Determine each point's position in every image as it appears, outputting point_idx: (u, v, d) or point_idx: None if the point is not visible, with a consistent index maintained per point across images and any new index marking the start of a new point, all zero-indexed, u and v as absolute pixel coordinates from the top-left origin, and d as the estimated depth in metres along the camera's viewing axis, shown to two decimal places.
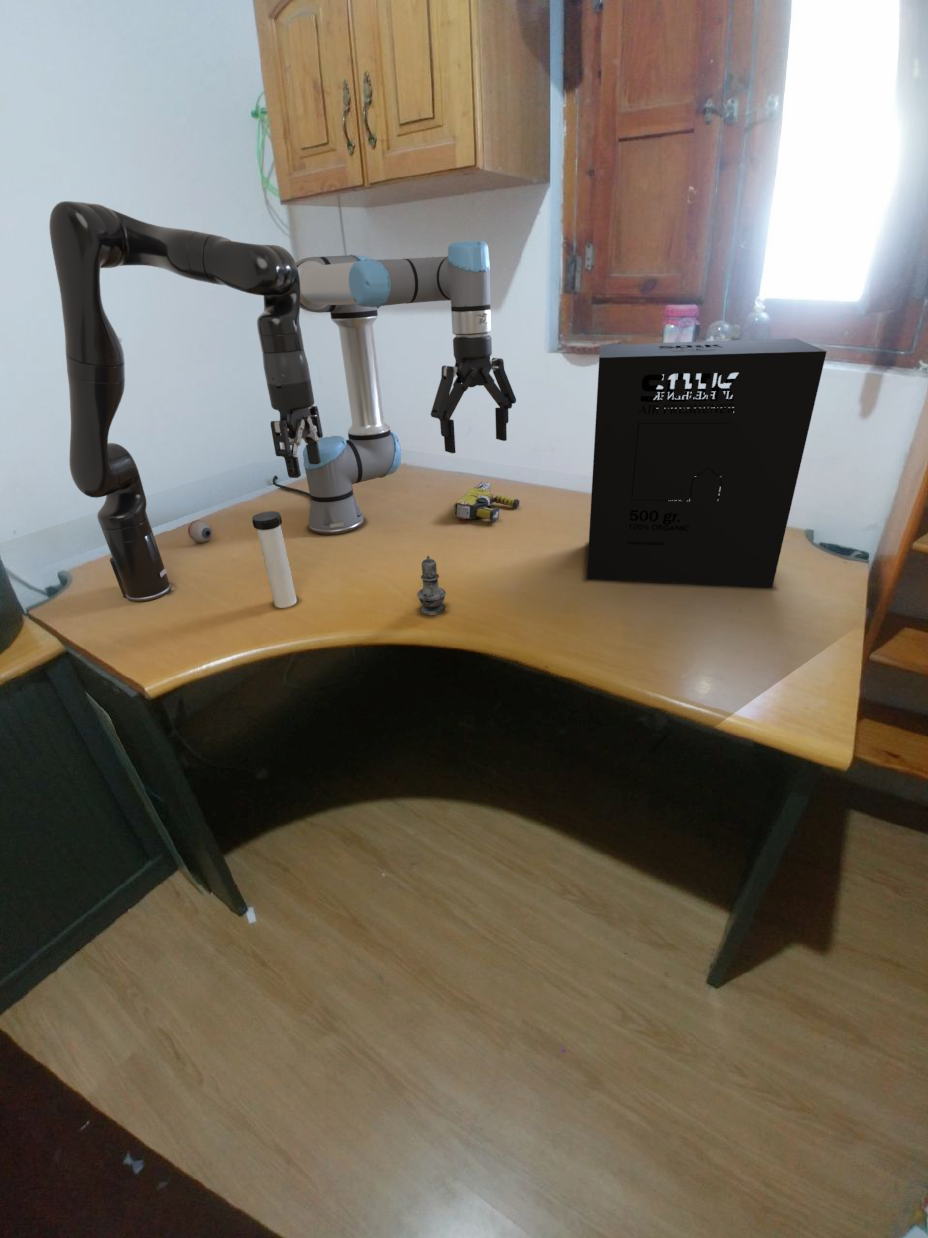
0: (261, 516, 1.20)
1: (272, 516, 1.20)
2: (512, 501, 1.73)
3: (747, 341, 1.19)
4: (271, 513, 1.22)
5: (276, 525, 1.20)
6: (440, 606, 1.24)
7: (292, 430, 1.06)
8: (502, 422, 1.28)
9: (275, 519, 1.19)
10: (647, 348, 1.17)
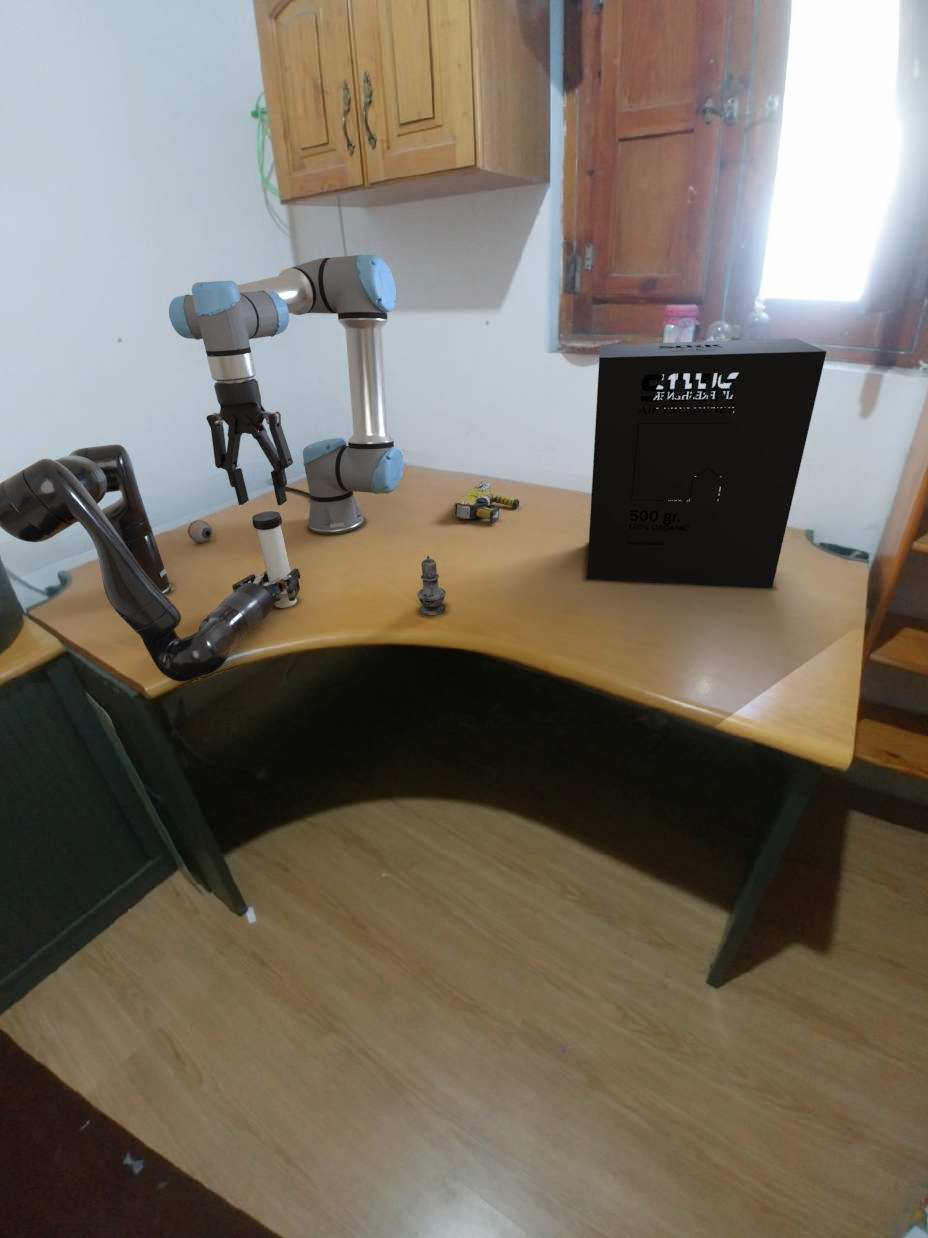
0: (261, 516, 1.20)
1: (272, 516, 1.20)
2: (512, 501, 1.73)
3: (747, 341, 1.19)
4: (271, 513, 1.22)
5: (276, 525, 1.20)
6: (440, 606, 1.24)
7: None
8: (243, 482, 1.19)
9: (275, 519, 1.19)
10: (647, 348, 1.17)
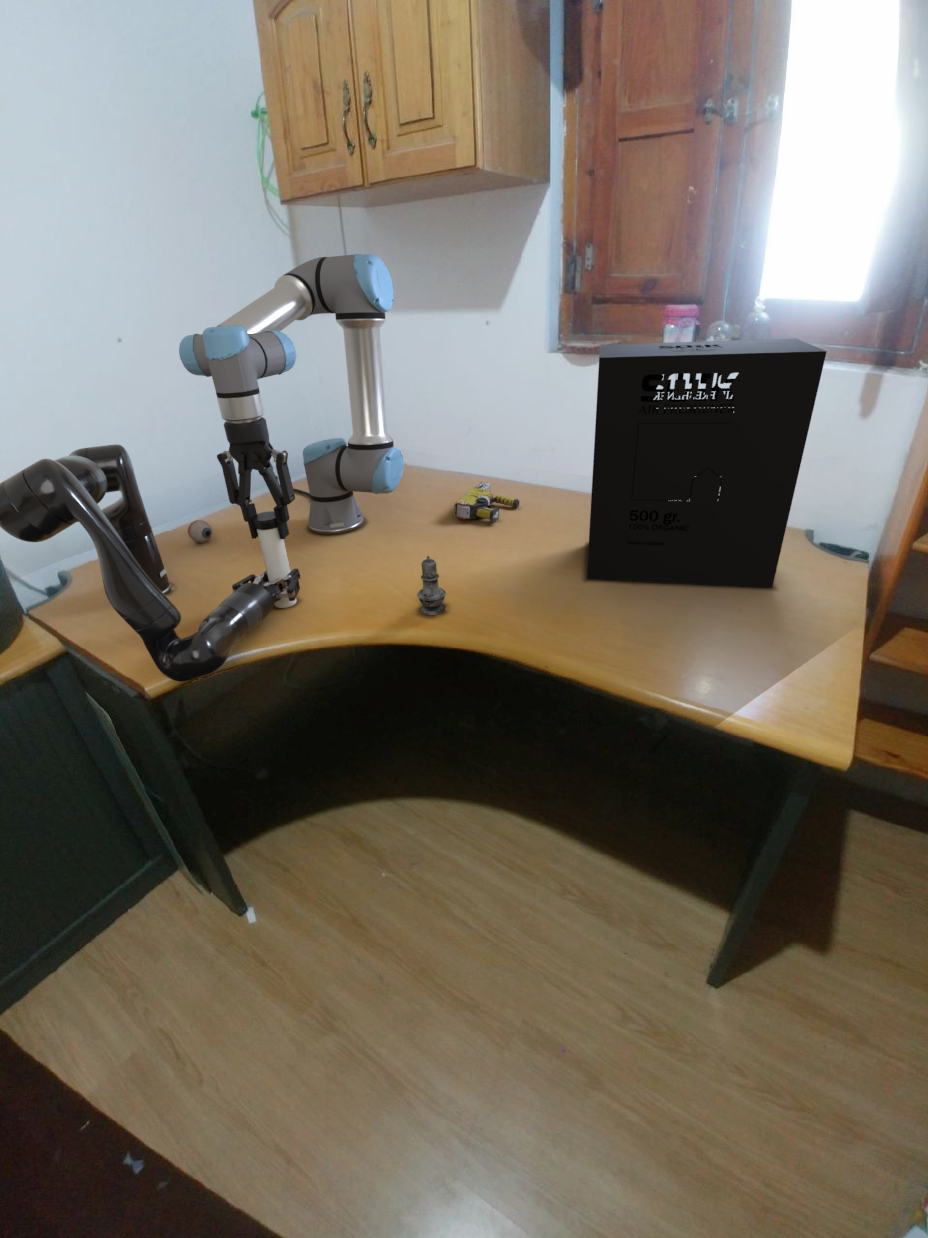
0: (261, 516, 1.20)
1: (272, 516, 1.20)
2: (512, 501, 1.73)
3: (747, 341, 1.19)
4: (271, 513, 1.22)
5: (276, 526, 1.20)
6: (440, 606, 1.24)
7: None
8: None
9: (275, 519, 1.19)
10: (647, 348, 1.17)
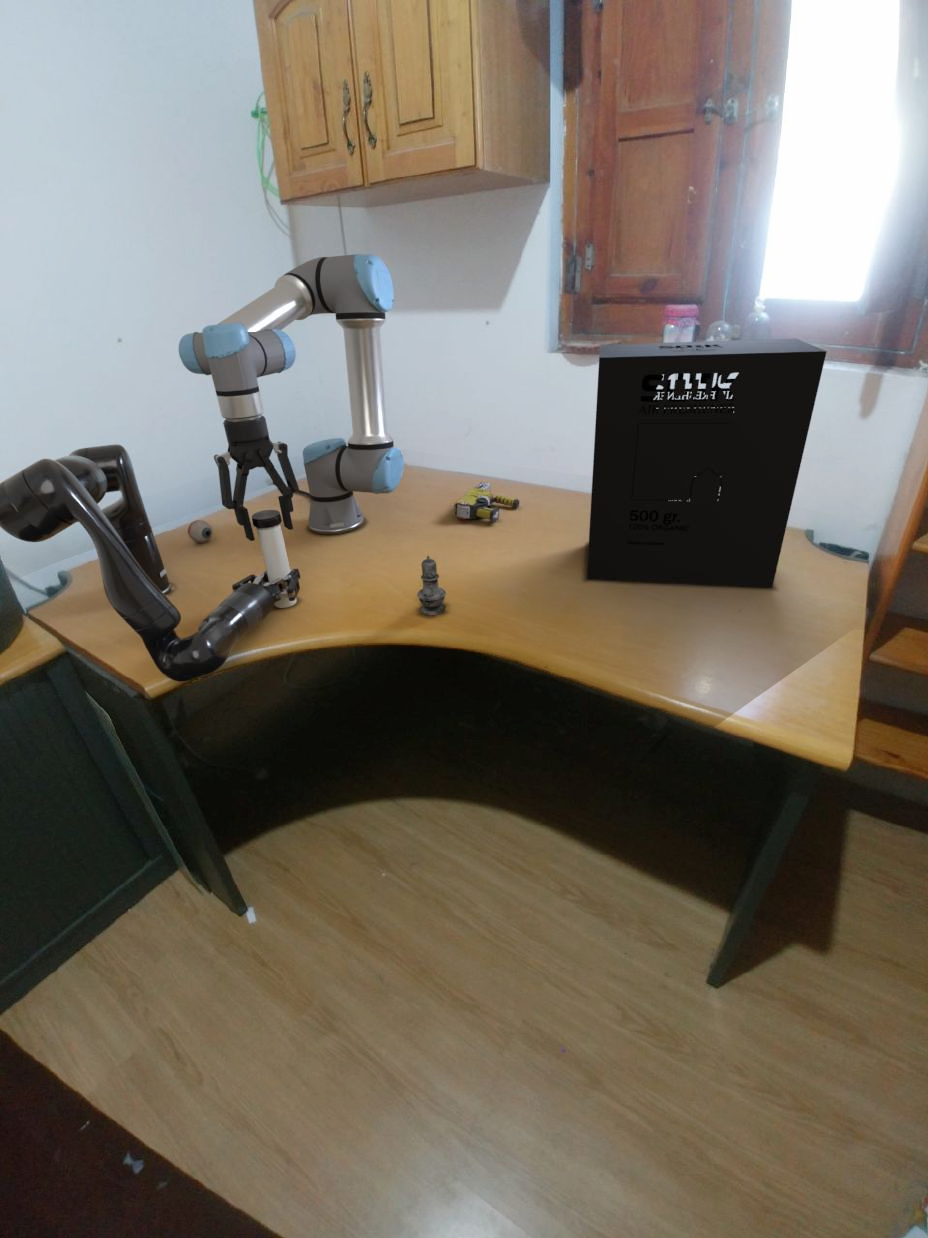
0: (265, 515, 1.20)
1: (270, 511, 1.22)
2: (512, 501, 1.73)
3: (747, 341, 1.19)
4: (260, 513, 1.21)
5: None
6: (440, 606, 1.24)
7: None
8: None
9: None
10: (647, 348, 1.17)
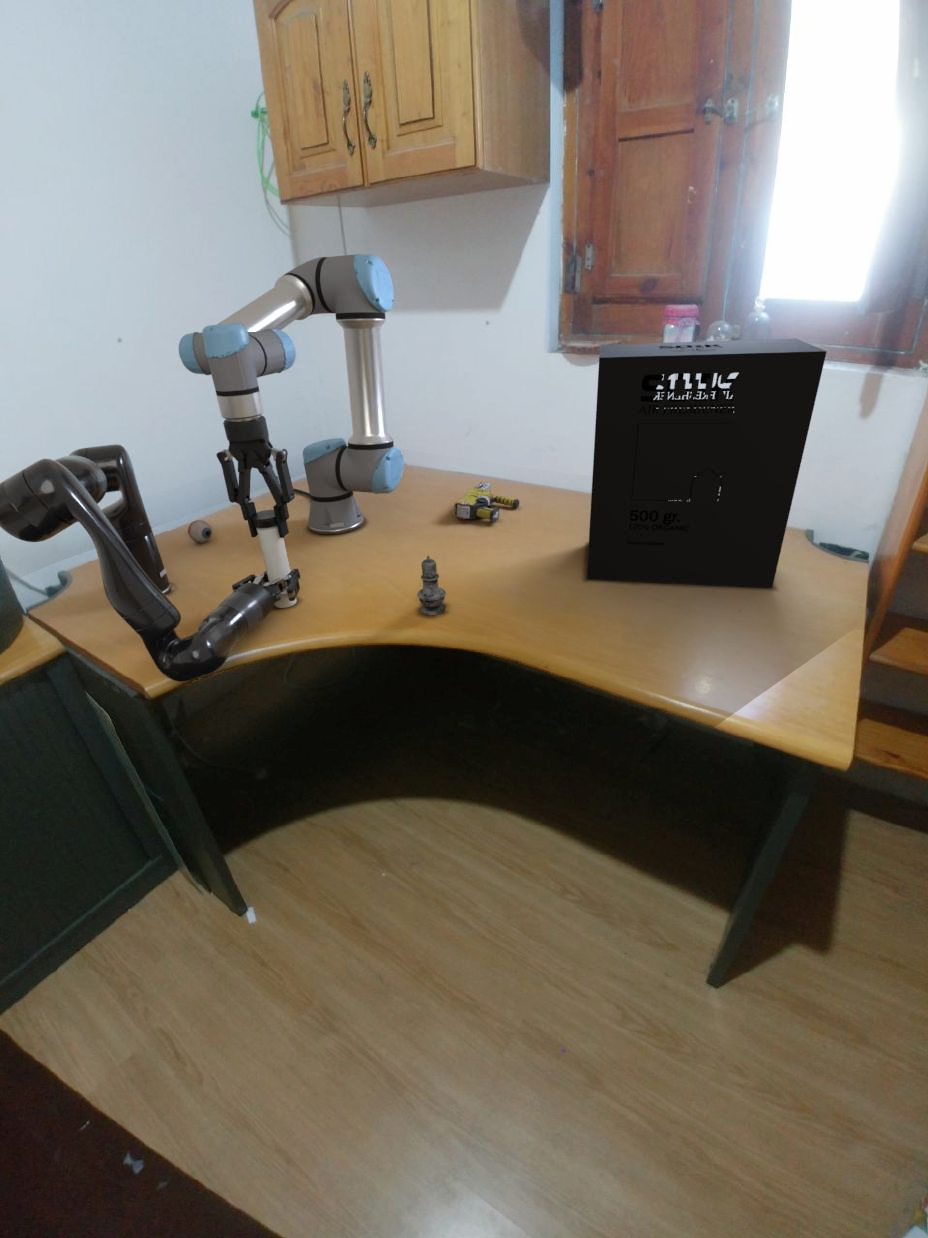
0: (265, 515, 1.20)
1: (270, 511, 1.21)
2: (512, 501, 1.73)
3: (747, 341, 1.19)
4: (260, 513, 1.21)
5: None
6: (440, 606, 1.24)
7: None
8: None
9: None
10: (647, 348, 1.17)
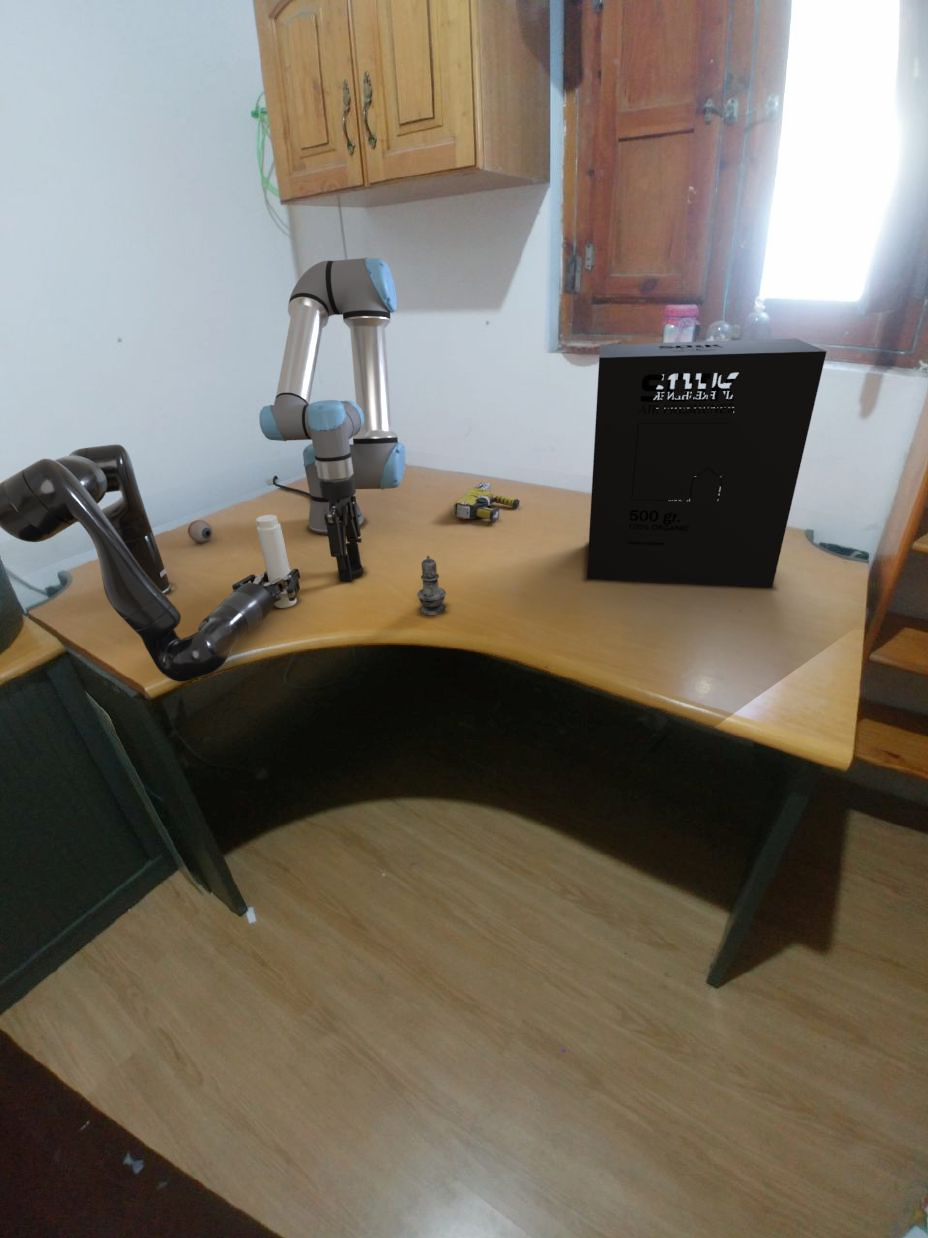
0: (354, 566, 1.40)
1: None
2: (512, 501, 1.73)
3: (747, 341, 1.19)
4: None
5: None
6: (440, 606, 1.24)
7: None
8: None
9: None
10: (647, 348, 1.17)
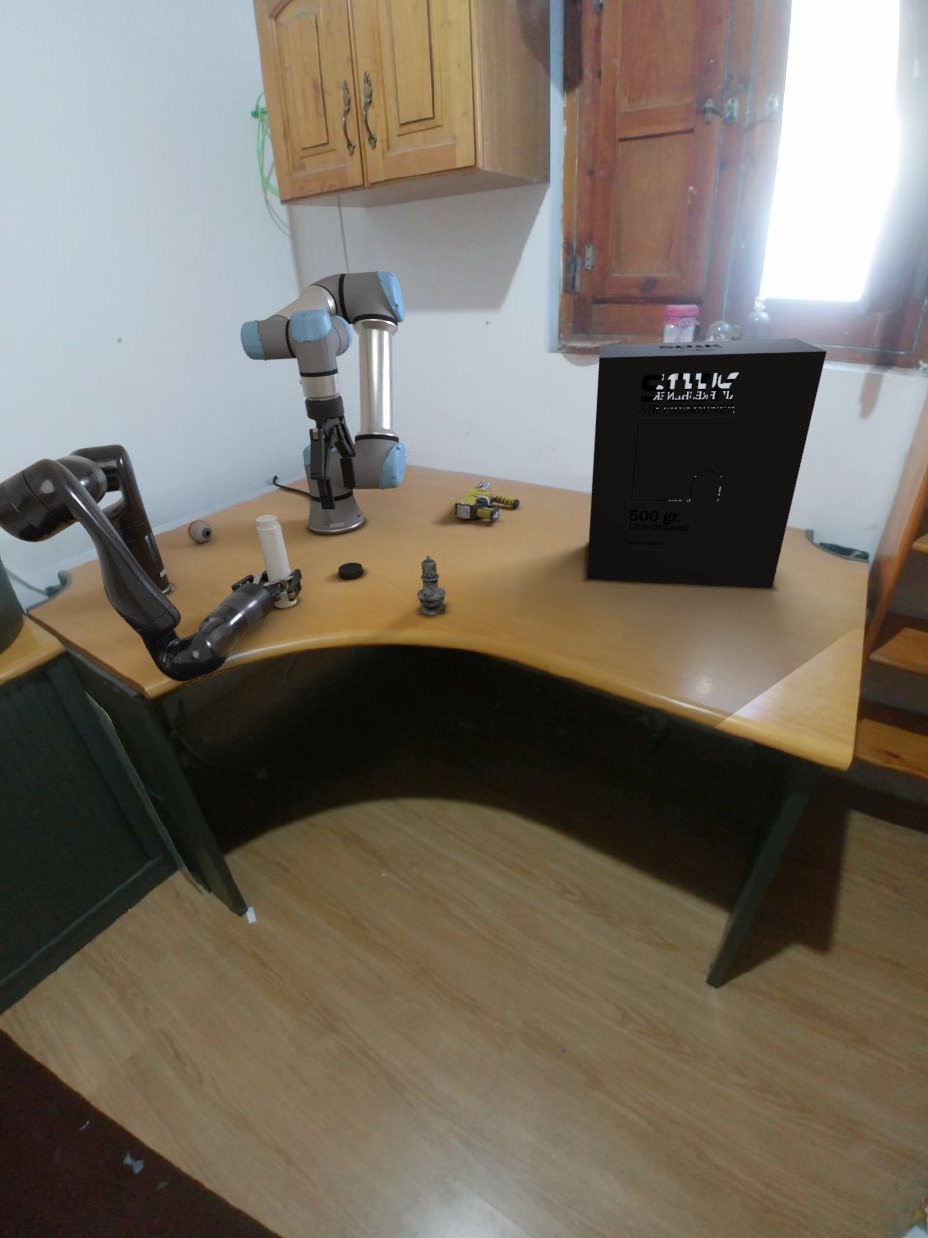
0: (354, 566, 1.40)
1: (344, 566, 1.40)
2: (512, 501, 1.73)
3: (747, 341, 1.19)
4: (346, 569, 1.39)
5: None
6: (440, 606, 1.24)
7: None
8: None
9: None
10: (647, 348, 1.17)
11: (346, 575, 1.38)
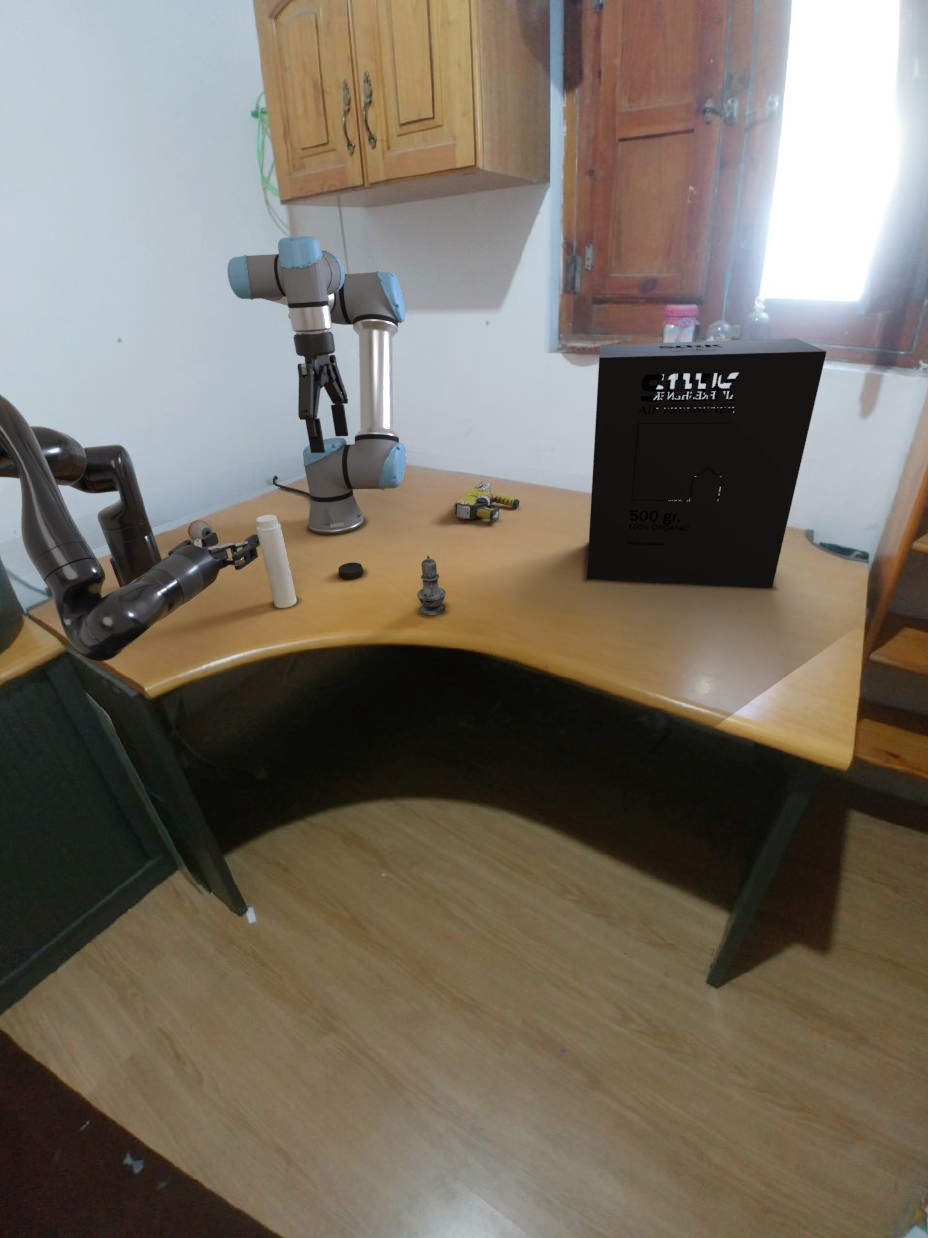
0: (354, 566, 1.40)
1: (344, 566, 1.40)
2: (512, 501, 1.73)
3: (747, 341, 1.19)
4: (346, 569, 1.39)
5: None
6: (440, 606, 1.24)
7: None
8: None
9: None
10: (647, 348, 1.17)
11: (346, 575, 1.38)
